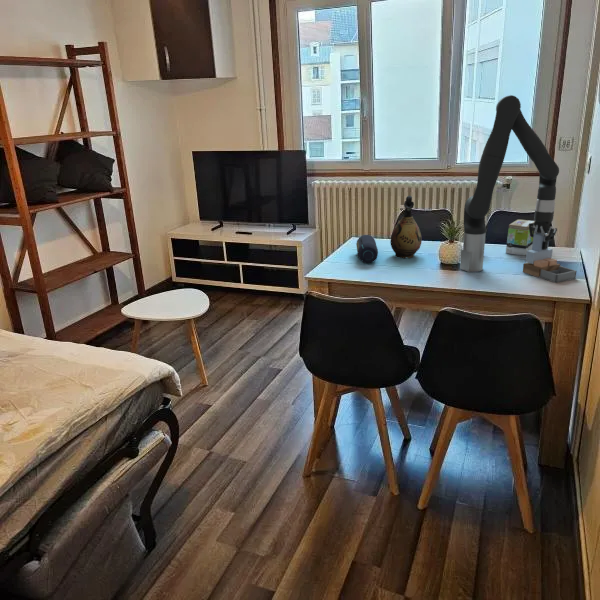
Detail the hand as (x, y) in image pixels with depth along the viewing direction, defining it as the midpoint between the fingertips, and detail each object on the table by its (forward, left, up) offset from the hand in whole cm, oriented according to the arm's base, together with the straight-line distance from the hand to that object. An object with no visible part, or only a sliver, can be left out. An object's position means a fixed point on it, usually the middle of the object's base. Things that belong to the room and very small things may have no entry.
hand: (539, 248), depth 233 cm
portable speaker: (-54, +58, -11) cm, 80 cm away
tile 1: (-3, -4, -7) cm, 8 cm away
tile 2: (+2, -4, -7) cm, 8 cm away
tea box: (+18, +29, -11) cm, 36 cm away
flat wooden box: (0, -2, -11) cm, 11 cm away
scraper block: (0, 0, -6) cm, 6 cm away
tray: (0, -11, -11) cm, 16 cm away
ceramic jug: (-35, +52, -11) cm, 64 cm away
